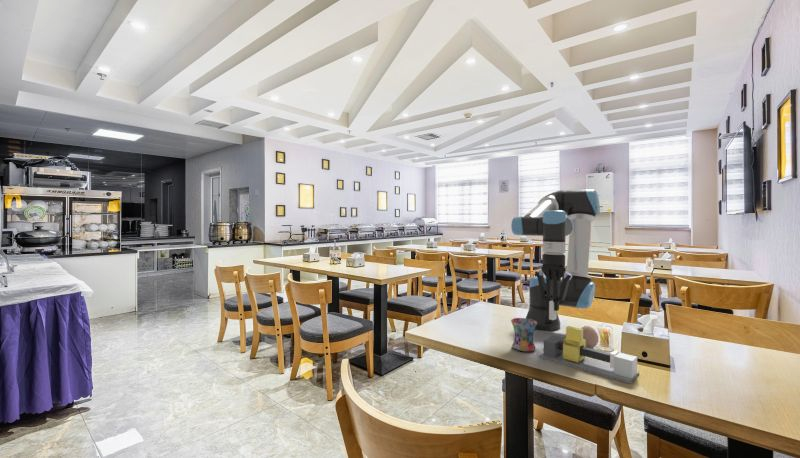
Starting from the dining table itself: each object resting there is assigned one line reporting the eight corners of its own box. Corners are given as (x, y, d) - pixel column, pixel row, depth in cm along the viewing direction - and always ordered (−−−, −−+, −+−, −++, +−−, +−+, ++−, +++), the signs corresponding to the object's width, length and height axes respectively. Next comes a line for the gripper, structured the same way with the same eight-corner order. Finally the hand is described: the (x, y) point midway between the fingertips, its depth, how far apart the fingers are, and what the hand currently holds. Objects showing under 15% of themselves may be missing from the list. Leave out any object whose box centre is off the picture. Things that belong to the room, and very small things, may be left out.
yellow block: (570, 353, 127) (570, 324, 127) (585, 357, 124) (585, 327, 123) (562, 358, 123) (563, 328, 123) (578, 362, 119) (578, 331, 119)
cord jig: (551, 350, 134) (552, 332, 134) (639, 374, 114) (639, 353, 113) (539, 357, 127) (539, 338, 127) (629, 383, 107) (630, 361, 107)
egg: (597, 346, 139) (597, 324, 139) (599, 352, 132) (599, 329, 132) (576, 343, 142) (577, 322, 142) (577, 349, 135) (577, 327, 135)
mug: (530, 355, 129) (530, 326, 129) (506, 349, 136) (506, 321, 135) (543, 347, 138) (544, 319, 137) (521, 341, 144) (521, 315, 144)
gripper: (531, 252, 130) (530, 317, 130) (568, 255, 121) (566, 325, 121) (541, 251, 135) (540, 313, 136) (576, 254, 126) (575, 321, 126)
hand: (552, 319), depth 128 cm, fingers closed
